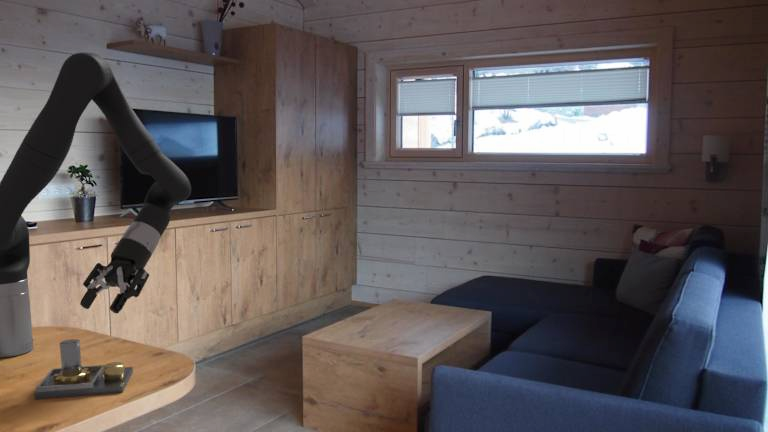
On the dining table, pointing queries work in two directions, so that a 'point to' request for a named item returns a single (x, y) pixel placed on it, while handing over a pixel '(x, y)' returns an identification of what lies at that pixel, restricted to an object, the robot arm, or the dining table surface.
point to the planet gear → (71, 364)
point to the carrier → (87, 382)
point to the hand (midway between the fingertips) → (98, 309)
